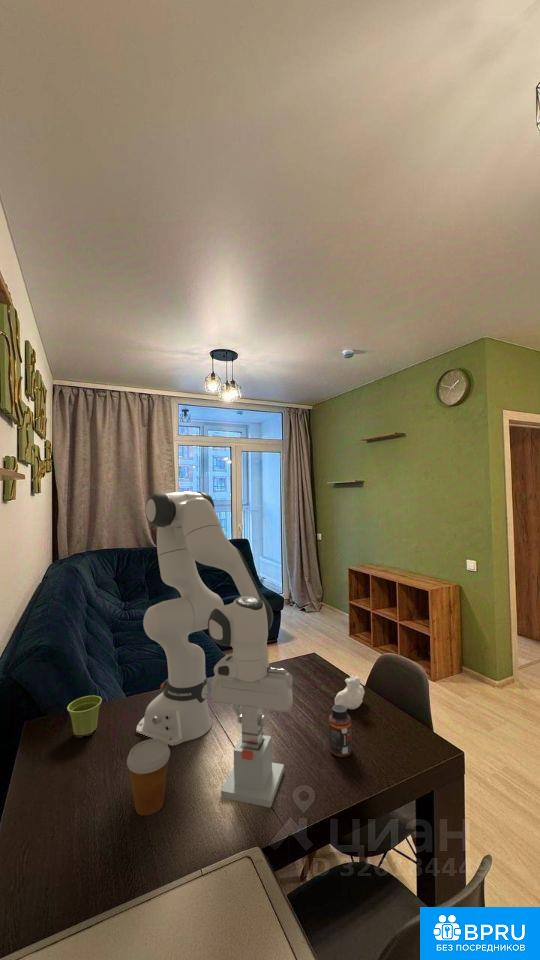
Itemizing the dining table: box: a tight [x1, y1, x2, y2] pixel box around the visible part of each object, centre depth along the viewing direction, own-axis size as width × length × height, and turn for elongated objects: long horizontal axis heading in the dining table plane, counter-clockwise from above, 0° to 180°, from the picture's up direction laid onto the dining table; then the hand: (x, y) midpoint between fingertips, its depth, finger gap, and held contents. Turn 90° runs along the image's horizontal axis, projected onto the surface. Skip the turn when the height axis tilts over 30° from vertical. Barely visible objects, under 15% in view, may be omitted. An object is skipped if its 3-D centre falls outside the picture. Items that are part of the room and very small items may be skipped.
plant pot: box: [66, 695, 103, 735], centre depth 116 cm, size 9×9×9 cm
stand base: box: [220, 734, 285, 808], centre depth 94 cm, size 12×12×10 cm
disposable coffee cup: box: [126, 738, 171, 816], centre depth 88 cm, size 10×10×12 cm
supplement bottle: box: [328, 704, 353, 758], centre depth 105 cm, size 6×6×11 cm
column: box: [240, 705, 264, 751], centre depth 94 cm, size 4×4×16 cm
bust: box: [334, 674, 365, 710], centre depth 126 cm, size 12×8×11 cm
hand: (252, 723), depth 94 cm, fingers open, 4 cm apart
